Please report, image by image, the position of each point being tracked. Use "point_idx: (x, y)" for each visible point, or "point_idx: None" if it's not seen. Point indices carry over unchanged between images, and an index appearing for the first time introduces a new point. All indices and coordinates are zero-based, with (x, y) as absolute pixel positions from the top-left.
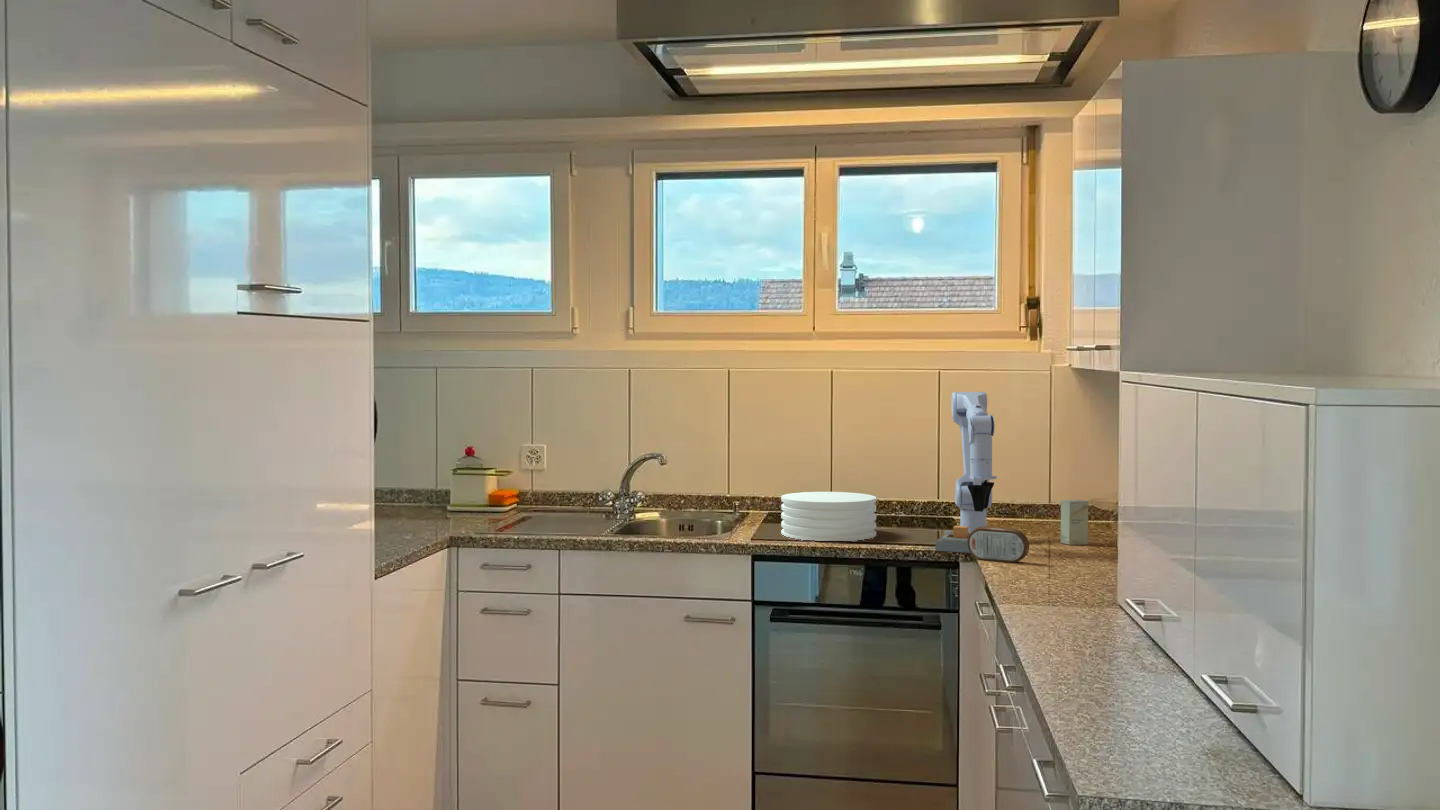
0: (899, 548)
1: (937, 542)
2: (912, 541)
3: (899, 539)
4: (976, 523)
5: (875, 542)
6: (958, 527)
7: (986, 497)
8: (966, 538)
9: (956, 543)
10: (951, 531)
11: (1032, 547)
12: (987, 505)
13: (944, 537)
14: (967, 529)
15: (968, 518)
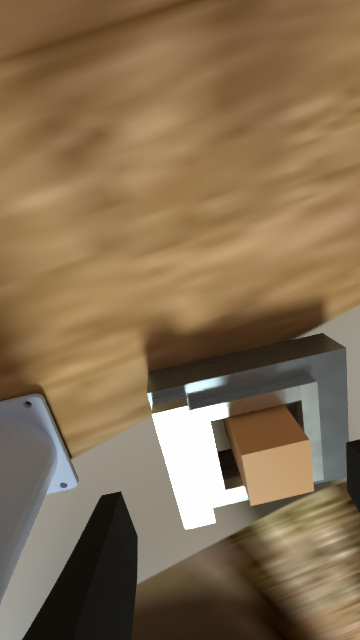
0: (331, 535)
1: (346, 467)
2: (183, 563)
3: (169, 599)
4: (10, 489)
5: (260, 612)
6: (310, 471)
7: (91, 629)
8: (305, 400)
9: (346, 408)
10: (203, 501)
11: (14, 167)
12: (113, 514)
13: (319, 472)
14: (268, 438)
15: (17, 544)
